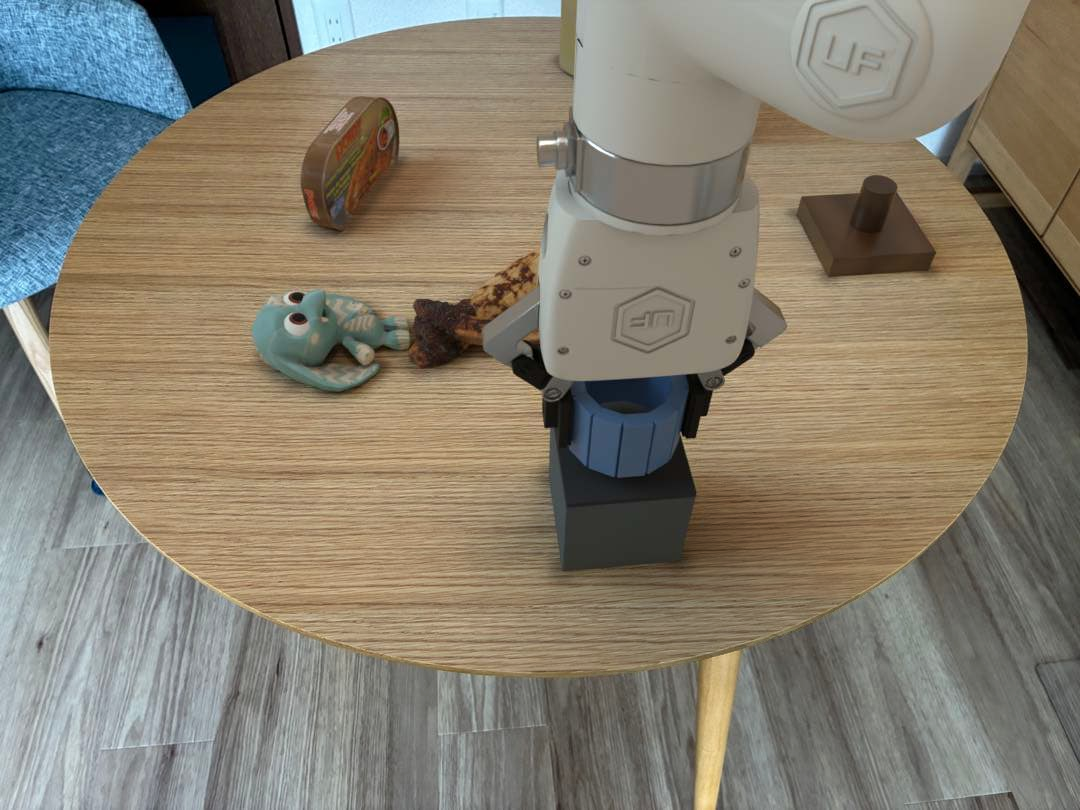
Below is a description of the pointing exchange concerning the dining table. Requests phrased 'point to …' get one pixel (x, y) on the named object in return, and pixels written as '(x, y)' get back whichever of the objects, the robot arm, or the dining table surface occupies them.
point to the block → (619, 508)
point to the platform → (865, 231)
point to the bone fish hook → (470, 314)
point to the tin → (349, 159)
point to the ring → (628, 423)
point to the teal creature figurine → (323, 337)
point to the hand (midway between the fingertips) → (622, 423)
